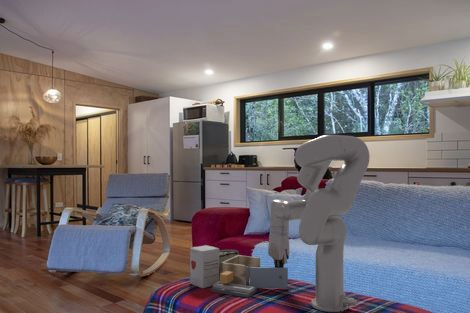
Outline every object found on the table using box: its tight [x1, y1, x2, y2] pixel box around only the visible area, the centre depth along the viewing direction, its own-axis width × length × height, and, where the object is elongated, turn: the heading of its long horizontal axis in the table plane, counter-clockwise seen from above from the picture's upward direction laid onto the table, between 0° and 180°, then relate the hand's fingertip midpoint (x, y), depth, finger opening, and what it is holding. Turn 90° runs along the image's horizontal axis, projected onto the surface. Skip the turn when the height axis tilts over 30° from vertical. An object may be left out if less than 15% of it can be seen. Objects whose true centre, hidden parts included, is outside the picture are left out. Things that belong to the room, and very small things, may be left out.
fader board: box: [210, 280, 258, 299], centre depth 152 cm, size 16×8×2 cm, turn 63°
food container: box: [219, 249, 240, 277], centre depth 179 cm, size 12×6×10 cm, turn 130°
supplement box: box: [189, 244, 220, 289], centre depth 162 cm, size 9×9×15 cm
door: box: [246, 266, 289, 289], centre depth 156 cm, size 2×17×8 cm, turn 88°
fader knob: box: [219, 271, 233, 285], centre depth 154 cm, size 3×5×5 cm, turn 153°
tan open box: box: [220, 254, 261, 286], centre depth 166 cm, size 11×16×9 cm
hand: (278, 275), depth 159 cm, fingers closed
